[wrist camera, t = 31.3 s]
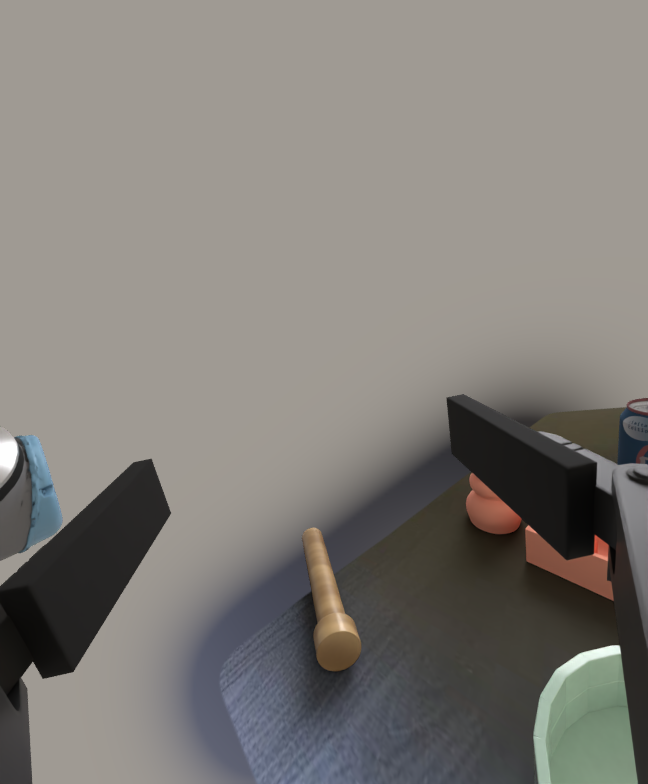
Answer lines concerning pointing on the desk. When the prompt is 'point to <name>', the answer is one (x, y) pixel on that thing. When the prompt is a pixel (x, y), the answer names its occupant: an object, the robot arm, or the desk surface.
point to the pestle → (329, 609)
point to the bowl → (585, 723)
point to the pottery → (538, 542)
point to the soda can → (634, 433)
